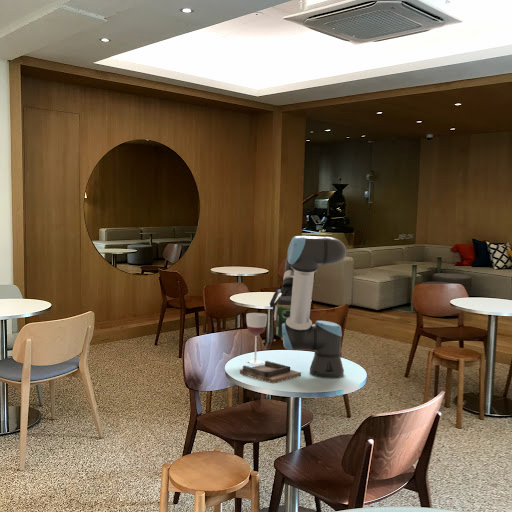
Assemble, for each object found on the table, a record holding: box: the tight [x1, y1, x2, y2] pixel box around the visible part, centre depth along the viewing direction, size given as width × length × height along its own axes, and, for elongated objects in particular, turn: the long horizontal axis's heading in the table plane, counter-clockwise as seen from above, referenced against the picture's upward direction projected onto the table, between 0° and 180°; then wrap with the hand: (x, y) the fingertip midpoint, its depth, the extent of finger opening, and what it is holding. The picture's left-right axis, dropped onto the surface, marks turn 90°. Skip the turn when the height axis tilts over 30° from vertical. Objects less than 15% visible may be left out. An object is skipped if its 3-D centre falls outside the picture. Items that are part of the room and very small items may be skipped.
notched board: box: [239, 360, 302, 384], centre depth 249 cm, size 20×18×4 cm
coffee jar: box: [275, 295, 292, 338], centre depth 262 cm, size 10×8×19 cm
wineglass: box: [245, 312, 268, 363], centre depth 270 cm, size 9×10×23 cm
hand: (285, 319), depth 259 cm, fingers closed on coffee jar, 9 cm apart
